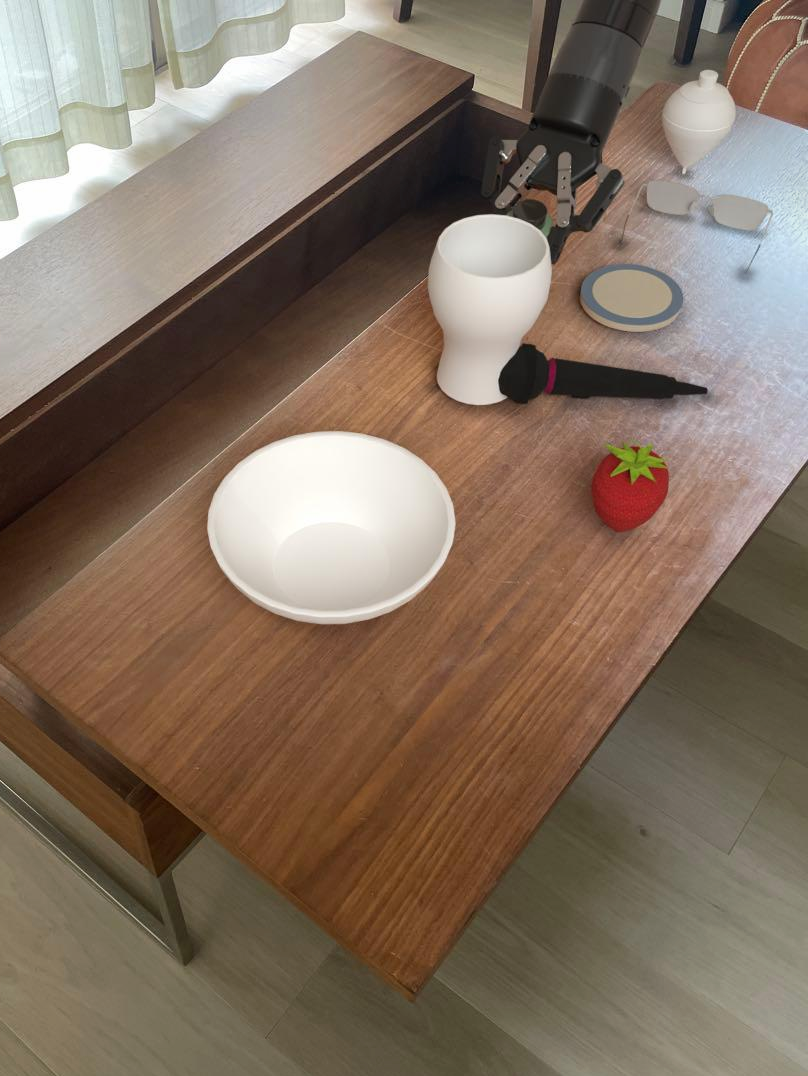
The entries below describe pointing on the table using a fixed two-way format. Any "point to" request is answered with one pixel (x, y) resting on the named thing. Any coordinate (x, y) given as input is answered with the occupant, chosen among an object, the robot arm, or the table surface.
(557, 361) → the microphone
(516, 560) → the table surface
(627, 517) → the strawberry
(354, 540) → the bowl
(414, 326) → the table surface
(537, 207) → the pepper shaker
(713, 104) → the spinning top
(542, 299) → the cup
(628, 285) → the saucer
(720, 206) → the eyeglasses
